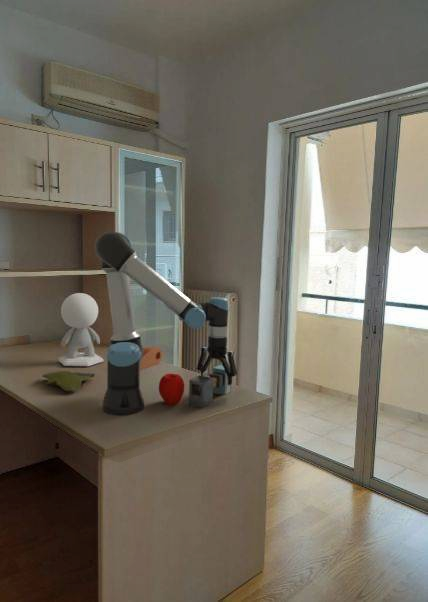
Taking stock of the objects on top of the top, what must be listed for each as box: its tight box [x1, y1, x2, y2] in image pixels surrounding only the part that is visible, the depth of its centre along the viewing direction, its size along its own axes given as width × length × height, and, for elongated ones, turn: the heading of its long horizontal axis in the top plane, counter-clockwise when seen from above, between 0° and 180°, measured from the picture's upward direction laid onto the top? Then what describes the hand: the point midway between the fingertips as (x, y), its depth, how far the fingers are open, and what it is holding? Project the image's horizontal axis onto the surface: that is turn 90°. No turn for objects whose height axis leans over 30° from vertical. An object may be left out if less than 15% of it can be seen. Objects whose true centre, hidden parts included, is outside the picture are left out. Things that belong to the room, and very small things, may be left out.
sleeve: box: [188, 375, 214, 409], centre depth 170 cm, size 7×6×10 cm
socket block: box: [212, 364, 232, 396], centre depth 185 cm, size 6×6×11 cm
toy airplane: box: [41, 370, 95, 392], centre depth 192 cm, size 28×22×5 cm
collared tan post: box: [199, 372, 224, 391], centre depth 178 cm, size 16×5×5 cm, turn 151°
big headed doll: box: [57, 292, 105, 367], centre depth 227 cm, size 20×23×35 cm
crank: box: [140, 346, 163, 371], centre depth 226 cm, size 20×8×8 cm, turn 153°
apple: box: [158, 373, 185, 406], centre depth 170 cm, size 10×10×12 cm
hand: (215, 389), depth 181 cm, fingers open, 10 cm apart
